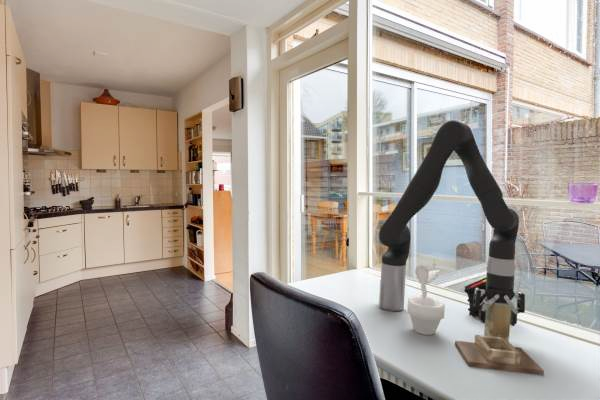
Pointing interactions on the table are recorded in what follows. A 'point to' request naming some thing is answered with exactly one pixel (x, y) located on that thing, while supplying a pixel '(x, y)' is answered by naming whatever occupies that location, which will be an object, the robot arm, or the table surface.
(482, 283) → the magazine
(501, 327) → the skincare box
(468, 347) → the socket board
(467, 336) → the table surface
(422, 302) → the potted plant
